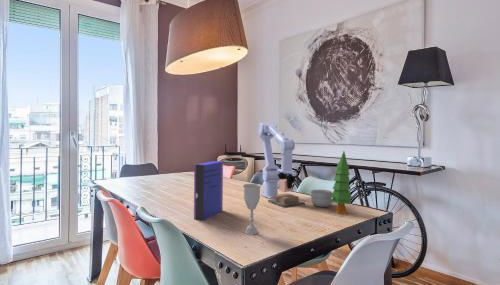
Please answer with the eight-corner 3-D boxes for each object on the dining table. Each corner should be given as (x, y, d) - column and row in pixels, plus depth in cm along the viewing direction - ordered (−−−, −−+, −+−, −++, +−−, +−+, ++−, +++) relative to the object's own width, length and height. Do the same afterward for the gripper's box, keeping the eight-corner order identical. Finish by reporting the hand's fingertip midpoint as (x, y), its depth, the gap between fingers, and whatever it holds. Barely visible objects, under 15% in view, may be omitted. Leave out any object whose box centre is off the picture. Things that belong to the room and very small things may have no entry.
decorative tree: (353, 211, 146) (354, 150, 144) (348, 216, 138) (349, 151, 137) (333, 208, 151) (334, 149, 150) (327, 213, 143) (328, 150, 142)
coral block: (279, 190, 162) (279, 179, 162) (286, 189, 164) (286, 178, 164) (284, 192, 158) (284, 180, 157) (292, 191, 160) (292, 179, 160)
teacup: (308, 206, 155) (308, 191, 155) (313, 202, 165) (314, 187, 164) (335, 210, 148) (335, 194, 148) (339, 205, 158) (340, 190, 158)
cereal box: (213, 209, 147) (214, 160, 146) (222, 210, 145) (222, 161, 144) (194, 218, 131) (194, 164, 130) (203, 220, 129) (203, 164, 128)
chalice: (250, 227, 120) (251, 183, 119) (264, 231, 115) (265, 185, 115) (238, 232, 114) (238, 185, 113) (252, 236, 110) (253, 187, 109)
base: (268, 201, 164) (268, 194, 164) (288, 199, 171) (288, 192, 171) (283, 207, 152) (283, 199, 152) (304, 204, 159) (305, 196, 159)
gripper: (272, 161, 165) (272, 185, 165) (289, 164, 152) (288, 190, 153) (283, 160, 168) (282, 184, 169) (299, 163, 156) (299, 189, 156)
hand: (286, 187), depth 161 cm, fingers closed on coral block, 5 cm apart
